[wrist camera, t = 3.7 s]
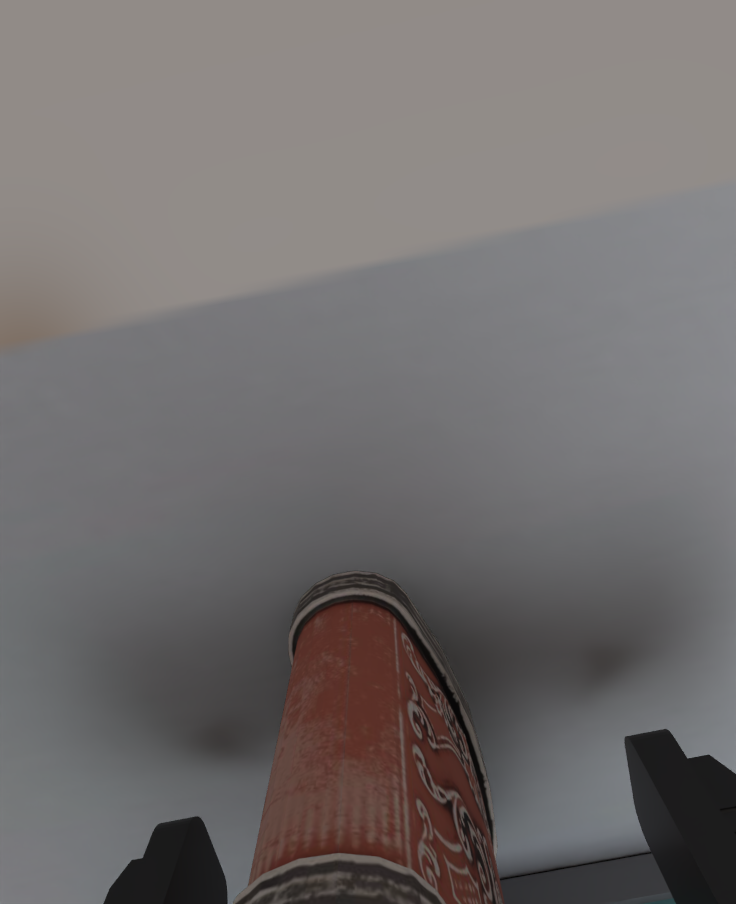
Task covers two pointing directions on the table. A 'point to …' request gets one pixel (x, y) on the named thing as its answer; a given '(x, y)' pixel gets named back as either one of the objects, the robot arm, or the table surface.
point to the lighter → (373, 763)
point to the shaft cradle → (593, 884)
